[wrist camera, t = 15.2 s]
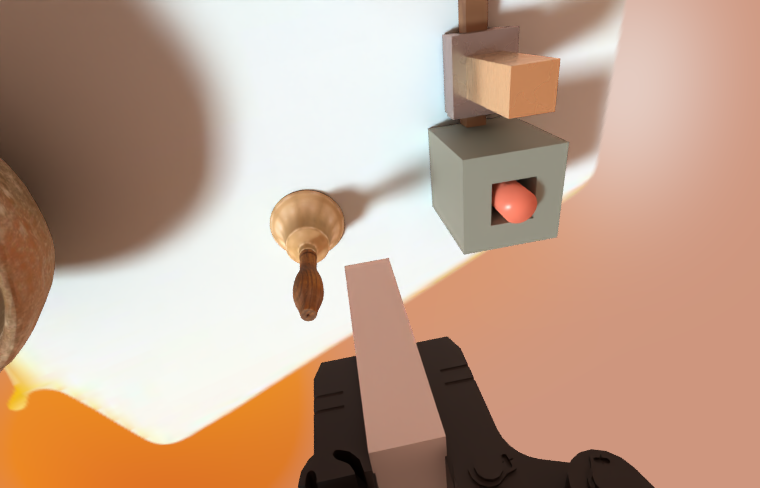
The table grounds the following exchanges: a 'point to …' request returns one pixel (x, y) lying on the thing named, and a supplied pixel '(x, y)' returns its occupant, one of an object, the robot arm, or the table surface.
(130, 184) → the table surface
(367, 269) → the robot arm
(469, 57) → the block
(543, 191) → the grey hole block
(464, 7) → the rail
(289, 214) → the hand bell
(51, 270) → the bowl
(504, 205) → the red rounded peg
